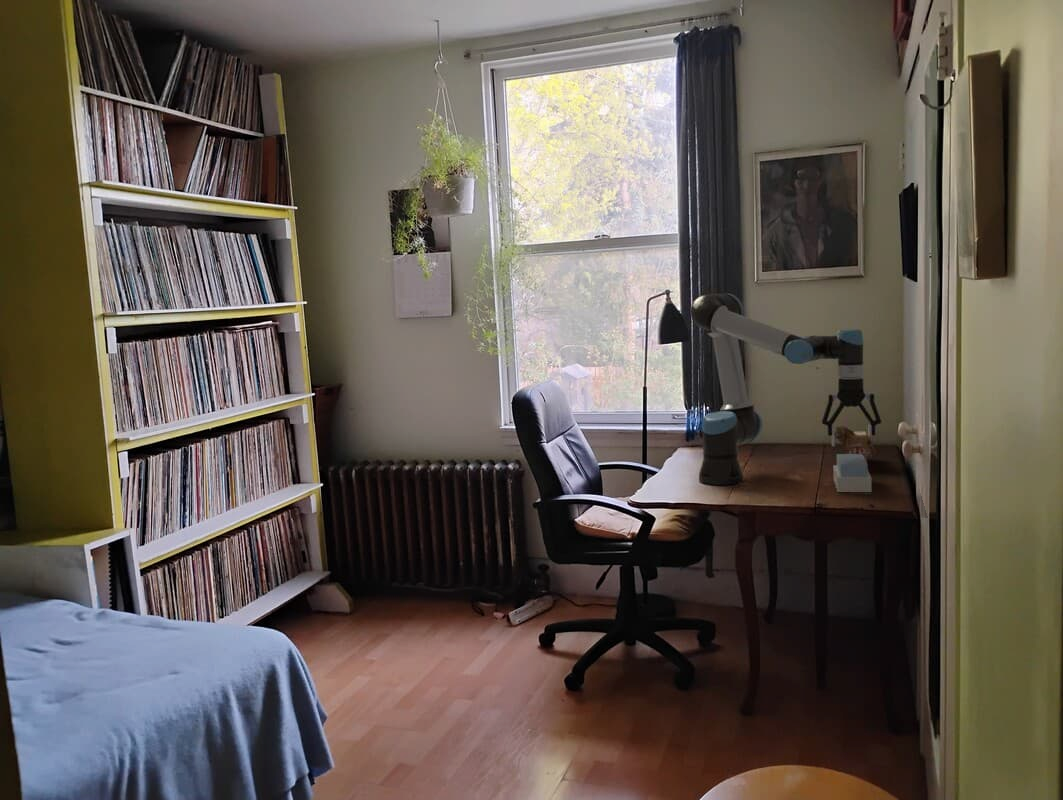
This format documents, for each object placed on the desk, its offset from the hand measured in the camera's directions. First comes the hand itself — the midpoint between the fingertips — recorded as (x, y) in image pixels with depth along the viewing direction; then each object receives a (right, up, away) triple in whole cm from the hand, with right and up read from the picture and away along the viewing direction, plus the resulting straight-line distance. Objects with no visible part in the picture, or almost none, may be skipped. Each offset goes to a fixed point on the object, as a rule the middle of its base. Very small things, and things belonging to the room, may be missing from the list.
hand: (851, 445), depth 274 cm
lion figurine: (+1, -3, 0) cm, 3 cm away
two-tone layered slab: (+1, -13, +2) cm, 13 cm away
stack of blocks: (+14, -9, +31) cm, 35 cm away
